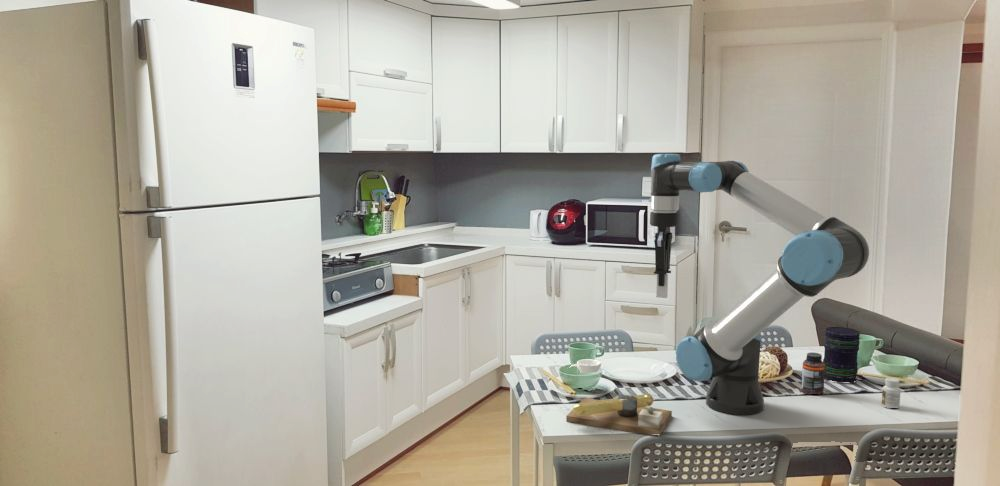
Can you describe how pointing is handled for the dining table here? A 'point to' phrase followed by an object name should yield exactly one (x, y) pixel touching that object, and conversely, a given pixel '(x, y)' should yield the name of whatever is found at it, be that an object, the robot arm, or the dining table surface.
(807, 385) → the supplement bottle
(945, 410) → the dining table surface
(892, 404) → the pill bottle
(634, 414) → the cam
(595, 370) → the cup
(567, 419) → the stand
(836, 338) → the storage jar
